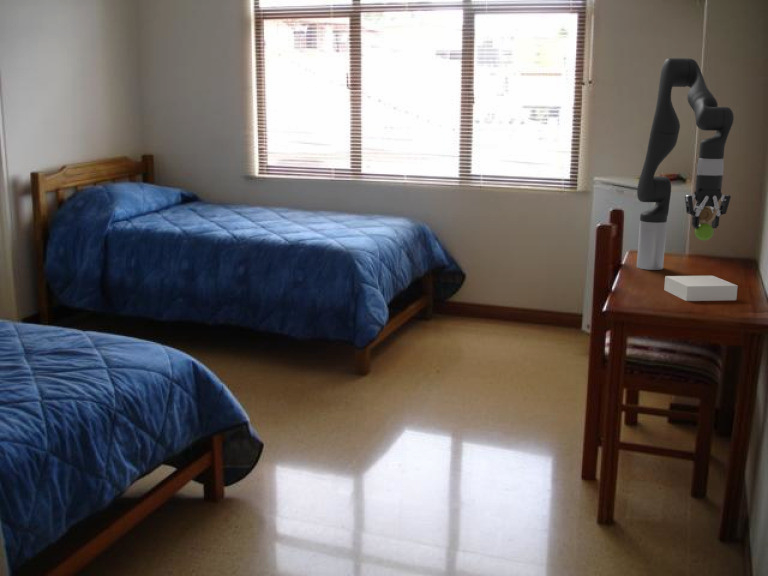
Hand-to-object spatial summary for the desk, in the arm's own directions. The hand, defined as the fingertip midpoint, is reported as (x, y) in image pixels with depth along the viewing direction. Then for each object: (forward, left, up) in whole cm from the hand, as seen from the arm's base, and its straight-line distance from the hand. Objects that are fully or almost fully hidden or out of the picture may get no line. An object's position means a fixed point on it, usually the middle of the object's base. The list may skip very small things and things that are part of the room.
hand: (704, 227), depth 254 cm
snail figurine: (0, 0, -4) cm, 4 cm away
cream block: (0, 0, -22) cm, 22 cm away
